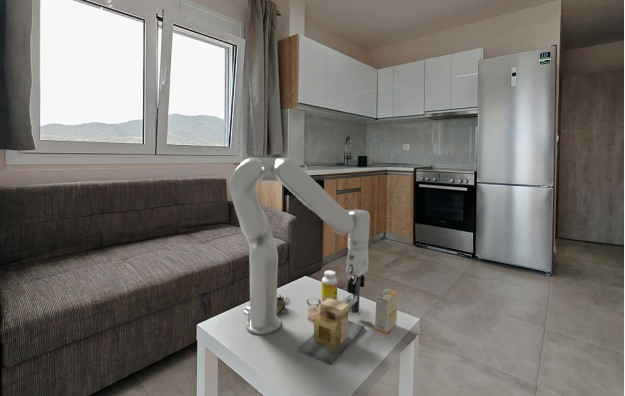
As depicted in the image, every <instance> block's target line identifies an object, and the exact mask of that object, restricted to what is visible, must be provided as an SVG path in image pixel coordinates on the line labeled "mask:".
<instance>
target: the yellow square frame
mask: <svg viewBox="0 0 625 396" xmlns="http://www.w3.org/2000/svg"><path fill="white" fill-rule="evenodd" d="M323 327H325V328H328V329H331V335H330V336H328V335H326V334H323ZM313 335H314V341H315V342H317V343H320V344H322V345H325V346H327V347H330V348H332V349H336V348H337V347H338V346H339V345H340V321H337V320H334V319H331V318H328V317H325V316H322V315H320V314H318V315H317V316H315V317H314V318H313Z"/></svg>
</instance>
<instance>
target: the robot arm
mask: <svg viewBox="0 0 625 396" xmlns="http://www.w3.org/2000/svg"><path fill="white" fill-rule="evenodd" d="M259 182H280V183H281V185H283V186H284V187H285V188H286V189H287V190H289V192H290V193H291V194H293V195H294V196H295V198H297V199H298V200H299V201H300V202H301V203H302V204H303V205H304V206H306V207H307V208H308V209H309V210H311V211H312V212H313V213H314V214H316V216H318V217H319V218H320V220H322V221H324V223H326V224H327V225H328V226H329V227H330V228H331V229H332V230H333V231H334V232H335V233H336V234H338V235H341V236H342V235H343V236H345V235H347V248H348V251H347V256H346V257H347V258H346V270H345V271H346V273H345V278H346V283H347V291H346V292H347V294H356V283H355V282H356V277H360V276H361V278H360V288H364V287H365V282H366V280H365V279H366V272H368V270H369V240H370V237H369V236H370V220H371V217H370V215H371V214H370V212H369V211H368V210H364V209H351V210H350V209H344V208H343V207H342V206H341V205H340V204H339V203H338V202H337V201H336V200H334V198H333V197H331V196H330V194H329V193H328V192H327V191H326V190H325V189H324V188H323V187H322V186H321V185H320V184H319V183H317V182H316V180H315V179H313V178H312V177H311V175H309V174H308V173H307V172H306V171H305V170H304V169H303V168H302V167H301V166H300V164H298V163H296V162H295V161H294V160H293V159H292V158H287V157H249V158H246V159H244V160H242V162H241V163H240V164H239V165H238V166H237V167H236V168H235V170H234V171H233V173H232V175H231V177H230V180H229V193H230V197H231V200H232V203H233V207H234V210H235V214H236V216H237V220H238V222H239V227H240V229H241V232H242V234H244V236H245V237H246V240H247V243H248V246H249V306H246V307H245V310H244V311H243V315H244V316H247V319H246V321H245V328H246V330H247V331H249V332H250V333H252V334H255V335H256V334H257V335H267V334H271V333H274V332H275V331H278V330H279V329H280V327H281V326H282V320H281V318H280V317H279V315H278V316H277V297H278V264H279V263H278V262H279V254H278V253H279V252H278V248H277V244H276V240H275V237H274V234H273V231H272V229H271V226H270V223H269V220H268V217H267V214H266V213H265V211H264V210H263V209H262V206H261V202H260V200H259V197H258V194H257V185H258V183H259ZM352 276H353V277H354V279H352Z"/></svg>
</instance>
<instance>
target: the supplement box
mask: <svg viewBox="0 0 625 396" xmlns="http://www.w3.org/2000/svg"><path fill="white" fill-rule="evenodd" d="M375 297H376V298H375V299H376V300H375V303H376V304H375V317H374V330H375V331H376V330H377V332H379V333H381V332H382V333H381V334H384V333H385V334H384V335H387V334H389V332H390V331H391V330H392V328H393V327H394V326H395V325H396V326H397V313H398V302H399V301H398V298H399V292H398V291H395V290H393V289H389V288H386V289H384V290H383V291H381V292H380V293H378V294H377V295H376V296H375ZM396 326H395V327H396ZM395 327H394V328H395ZM394 328H393V329H394Z"/></svg>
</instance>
